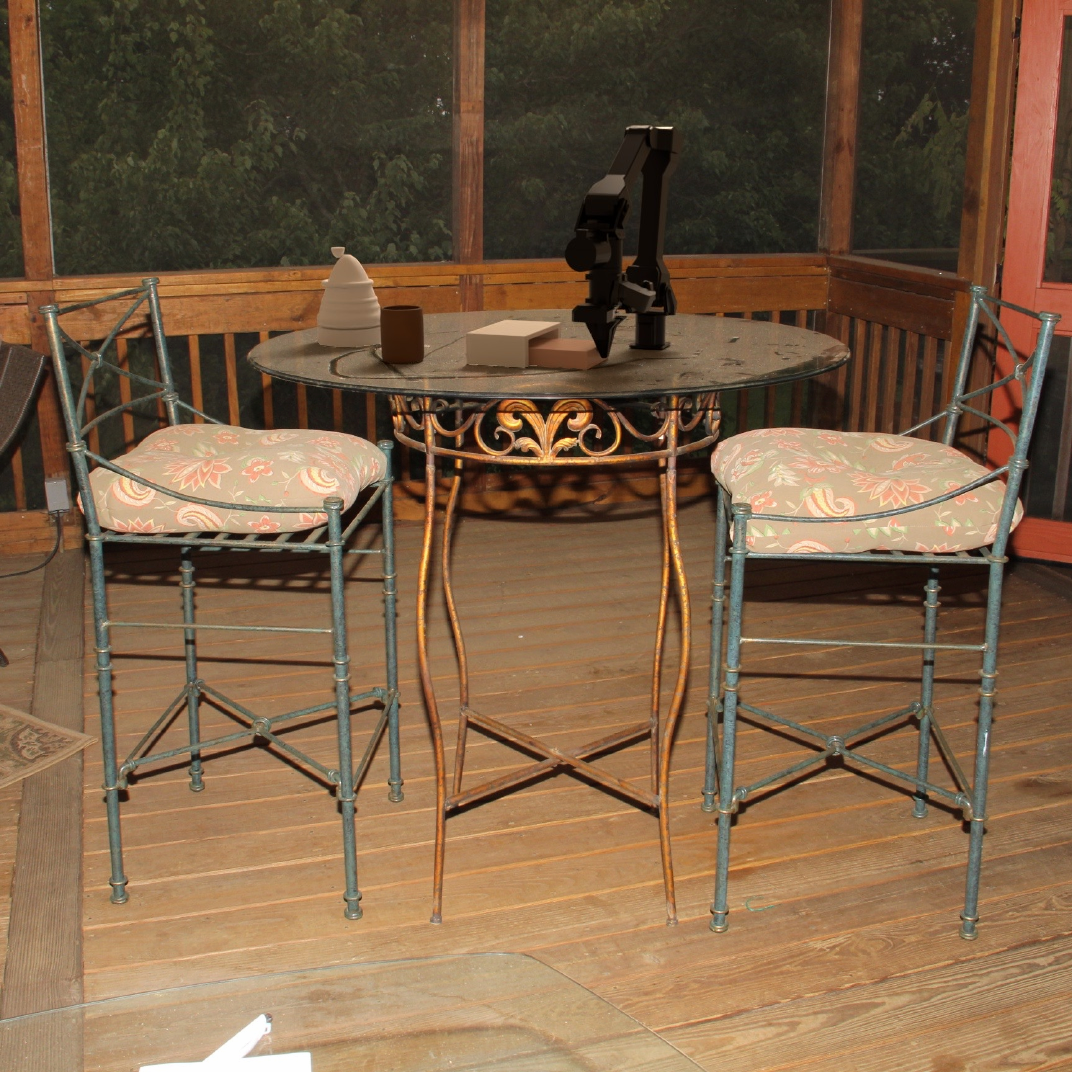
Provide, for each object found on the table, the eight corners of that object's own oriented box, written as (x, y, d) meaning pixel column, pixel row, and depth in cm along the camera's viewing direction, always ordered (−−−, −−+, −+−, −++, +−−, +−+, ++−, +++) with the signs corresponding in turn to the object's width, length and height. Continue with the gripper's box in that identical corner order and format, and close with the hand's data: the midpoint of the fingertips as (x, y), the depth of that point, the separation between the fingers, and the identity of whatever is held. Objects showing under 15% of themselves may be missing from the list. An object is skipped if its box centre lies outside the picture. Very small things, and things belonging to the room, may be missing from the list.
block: (514, 355, 233) (514, 336, 232) (607, 360, 227) (608, 341, 226) (489, 365, 223) (489, 346, 222) (586, 371, 216) (586, 351, 215)
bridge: (505, 349, 237) (505, 319, 235) (561, 352, 233) (561, 322, 232) (466, 364, 221) (466, 333, 219) (525, 368, 217) (525, 336, 216)
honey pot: (306, 346, 242) (300, 249, 237) (336, 336, 254) (331, 244, 248) (368, 349, 238) (363, 251, 233) (395, 339, 250) (391, 245, 245)
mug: (379, 354, 232) (376, 302, 230) (420, 352, 234) (418, 301, 231) (383, 365, 221) (380, 310, 218) (426, 363, 222) (424, 309, 220)
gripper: (635, 273, 205) (634, 369, 210) (665, 263, 222) (663, 352, 227) (570, 271, 209) (570, 365, 214) (604, 261, 226) (604, 349, 230)
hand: (604, 358), depth 221 cm, fingers closed
